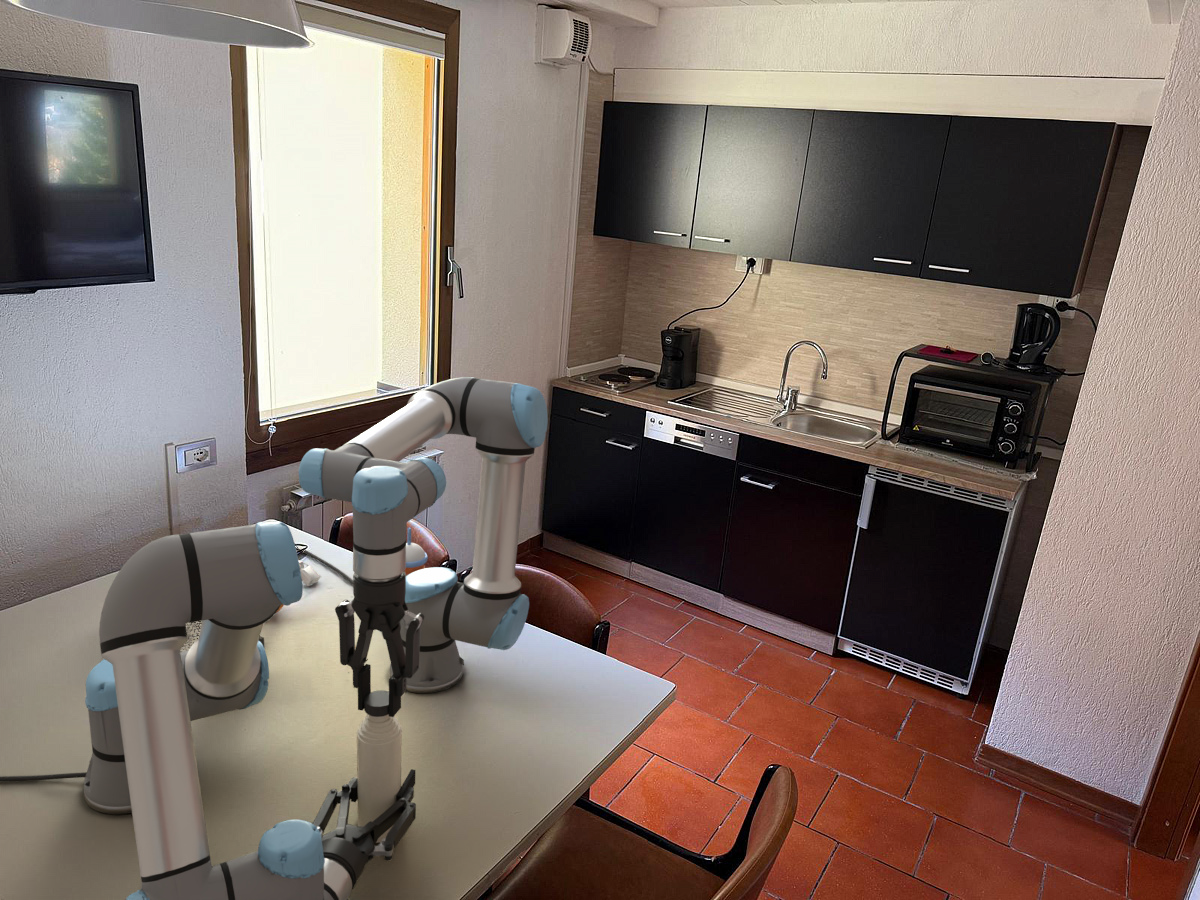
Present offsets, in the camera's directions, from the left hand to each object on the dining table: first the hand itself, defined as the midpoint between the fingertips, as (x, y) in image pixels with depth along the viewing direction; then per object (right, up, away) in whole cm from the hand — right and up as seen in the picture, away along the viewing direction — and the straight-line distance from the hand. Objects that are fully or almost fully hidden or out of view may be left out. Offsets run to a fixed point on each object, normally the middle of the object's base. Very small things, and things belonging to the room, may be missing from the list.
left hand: (391, 772), depth 142 cm
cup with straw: (-14, +17, +74) cm, 77 cm away
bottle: (-1, -8, -3) cm, 8 cm away
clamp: (-46, +21, +79) cm, 94 cm away
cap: (+1, +15, -10) cm, 18 cm away
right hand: (0, +13, -9) cm, 16 cm away
